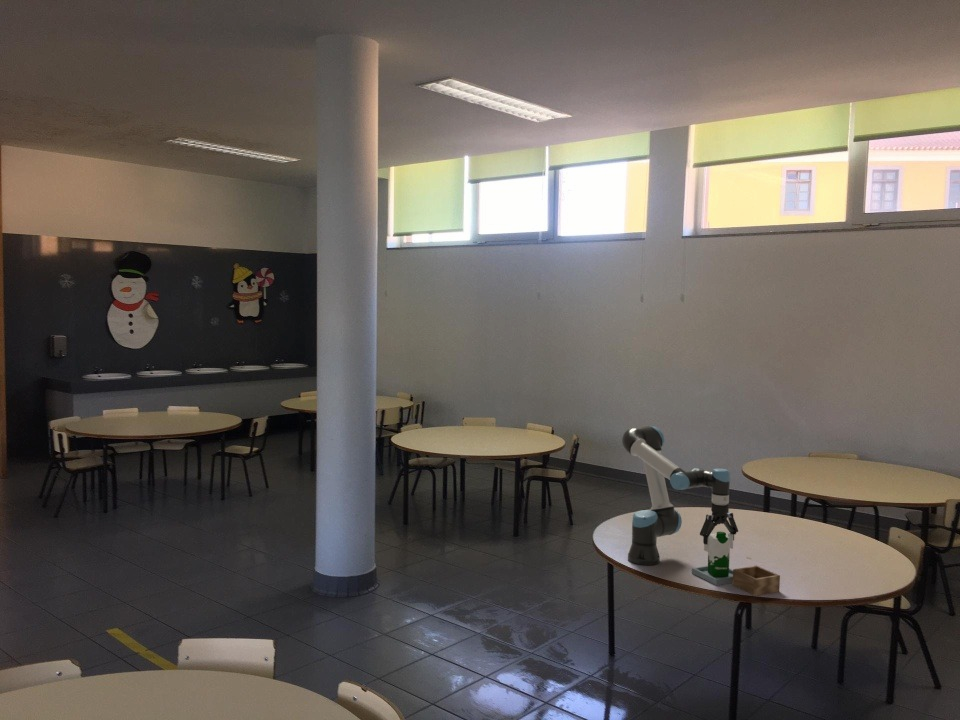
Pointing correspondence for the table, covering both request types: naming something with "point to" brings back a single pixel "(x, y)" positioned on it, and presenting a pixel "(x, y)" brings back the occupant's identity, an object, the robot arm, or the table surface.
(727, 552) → the soya milk
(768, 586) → the holder
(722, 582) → the tray
